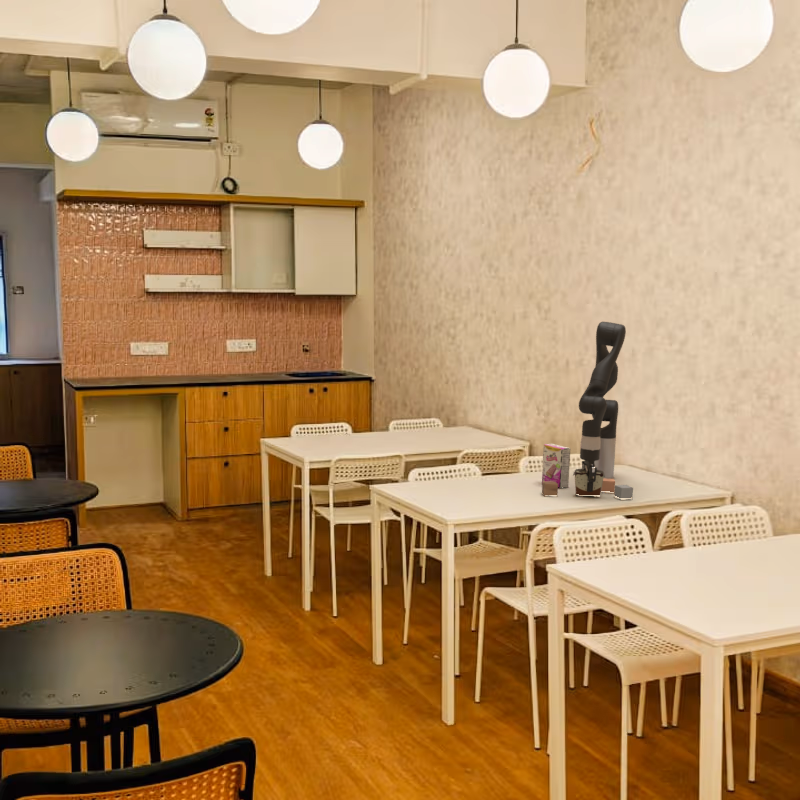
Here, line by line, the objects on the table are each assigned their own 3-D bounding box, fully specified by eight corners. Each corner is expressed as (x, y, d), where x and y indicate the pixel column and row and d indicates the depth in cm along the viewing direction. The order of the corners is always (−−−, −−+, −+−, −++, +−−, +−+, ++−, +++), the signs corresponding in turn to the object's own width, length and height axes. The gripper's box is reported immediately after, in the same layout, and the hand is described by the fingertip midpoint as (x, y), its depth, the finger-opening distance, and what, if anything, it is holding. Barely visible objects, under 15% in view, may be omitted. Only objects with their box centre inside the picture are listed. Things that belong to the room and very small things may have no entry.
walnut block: (541, 493, 394) (542, 481, 394) (554, 494, 395) (555, 481, 394) (544, 496, 389) (545, 484, 389) (557, 496, 390) (557, 484, 389)
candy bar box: (540, 483, 413) (543, 444, 411) (550, 482, 416) (552, 443, 414) (559, 488, 404) (562, 448, 402) (569, 487, 407) (571, 447, 405)
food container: (602, 493, 396) (603, 469, 395) (604, 497, 390) (605, 472, 389) (570, 492, 397) (572, 467, 396) (571, 495, 391) (573, 470, 390)
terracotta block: (600, 490, 404) (601, 478, 404) (613, 491, 404) (613, 478, 403) (601, 493, 399) (602, 480, 399) (614, 493, 399) (615, 481, 398)
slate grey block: (614, 497, 391) (614, 485, 391) (625, 497, 393) (626, 484, 392) (620, 500, 387) (621, 488, 386) (632, 500, 388) (633, 487, 388)
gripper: (576, 443, 397) (574, 485, 400) (585, 450, 383) (582, 494, 385) (595, 444, 398) (592, 486, 400) (604, 450, 384) (602, 494, 386)
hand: (587, 489), depth 393 cm, fingers closed on food container, 5 cm apart
